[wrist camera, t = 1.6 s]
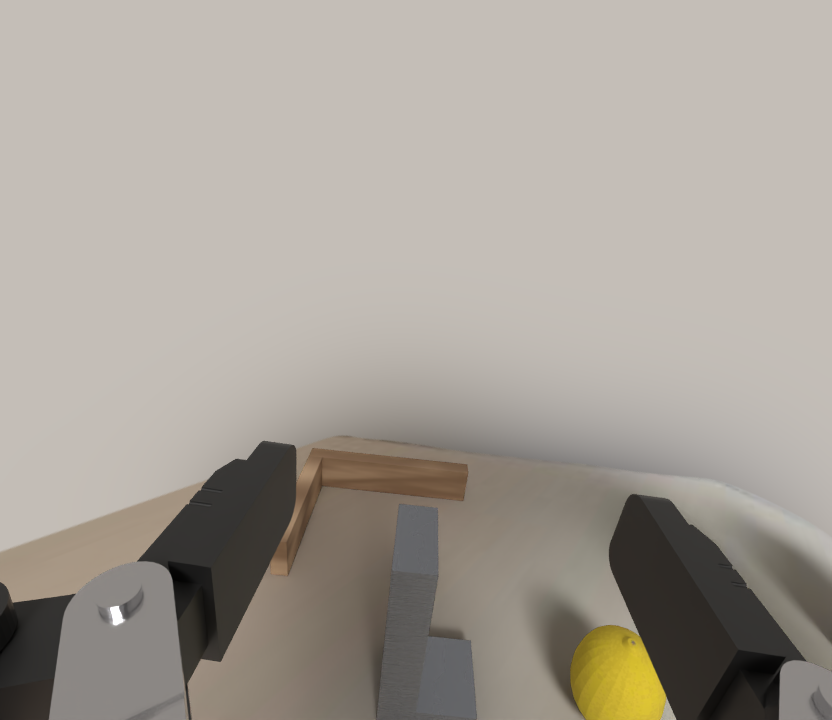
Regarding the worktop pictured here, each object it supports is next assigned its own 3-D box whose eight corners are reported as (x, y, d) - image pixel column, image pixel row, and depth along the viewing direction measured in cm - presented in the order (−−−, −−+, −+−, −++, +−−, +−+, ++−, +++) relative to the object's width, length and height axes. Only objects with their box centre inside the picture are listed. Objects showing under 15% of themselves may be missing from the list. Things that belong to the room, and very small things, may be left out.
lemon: (566, 658, 32) (593, 587, 29) (644, 702, 30) (682, 630, 27) (550, 731, 28) (581, 656, 25) (640, 790, 25) (686, 715, 22)
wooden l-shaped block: (471, 595, 36) (478, 562, 35) (270, 574, 36) (269, 540, 35) (462, 491, 49) (467, 464, 47) (312, 476, 49) (312, 448, 47)
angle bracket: (473, 731, 27) (513, 583, 22) (376, 721, 27) (391, 570, 22) (467, 653, 32) (499, 514, 26) (384, 644, 32) (399, 503, 26)
